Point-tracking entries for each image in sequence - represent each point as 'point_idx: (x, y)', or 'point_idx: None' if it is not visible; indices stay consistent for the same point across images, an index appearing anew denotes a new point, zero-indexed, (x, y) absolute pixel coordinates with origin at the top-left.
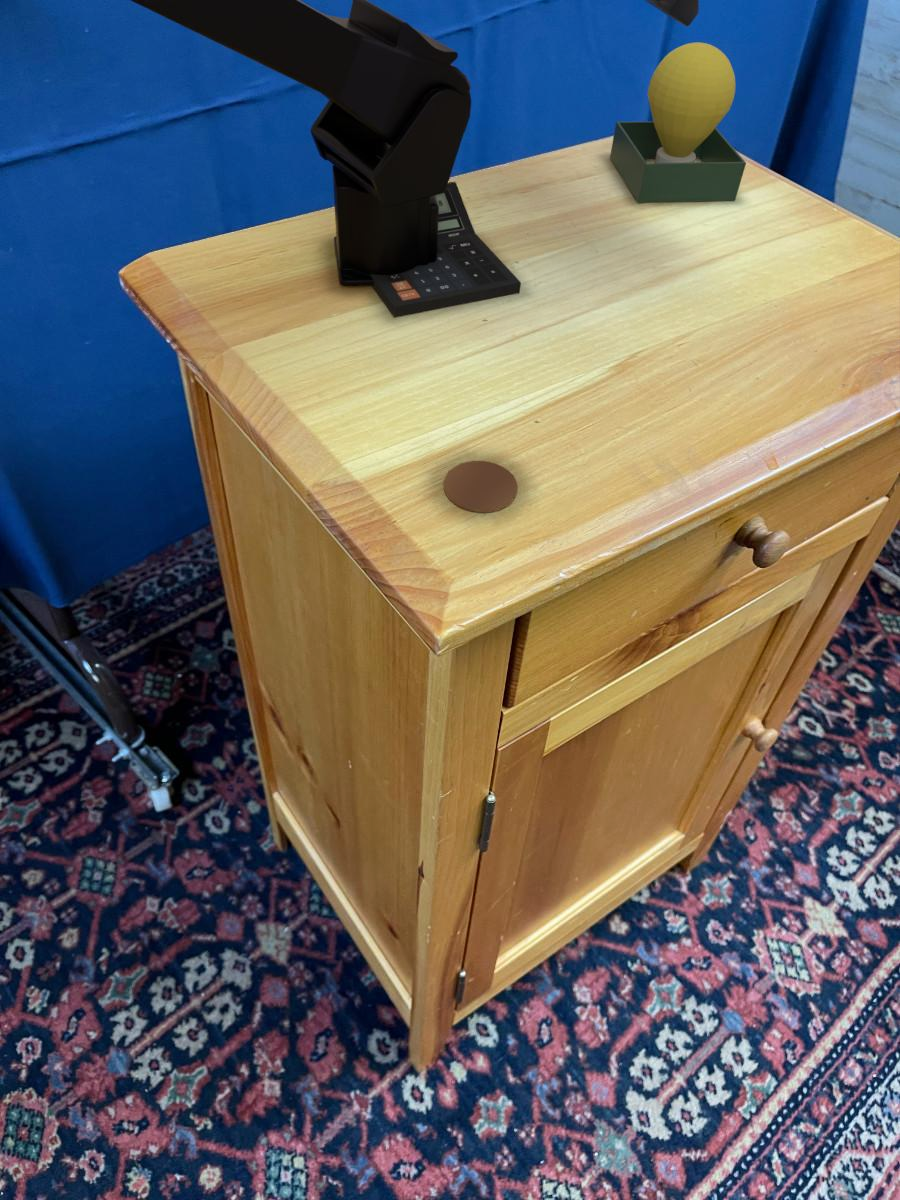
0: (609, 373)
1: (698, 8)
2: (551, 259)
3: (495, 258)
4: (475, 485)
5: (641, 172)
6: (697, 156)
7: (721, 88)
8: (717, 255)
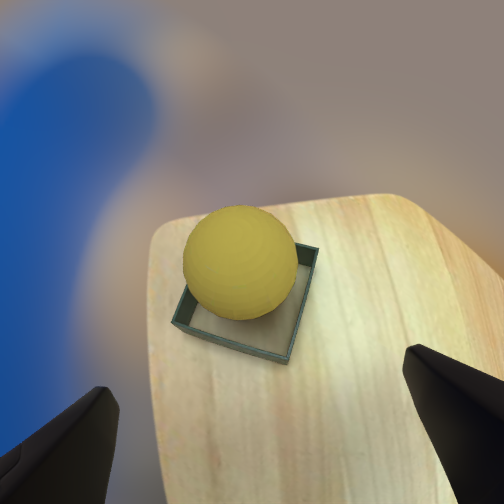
0: None
1: (426, 347)
2: (357, 496)
3: None
4: None
5: (281, 360)
6: None
7: (293, 247)
8: (403, 344)
